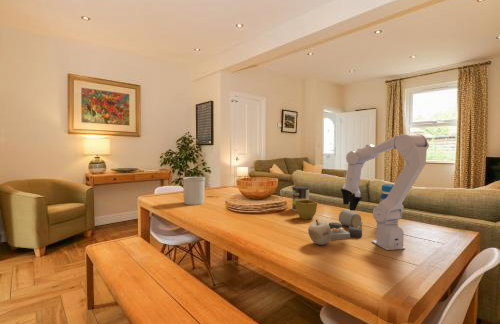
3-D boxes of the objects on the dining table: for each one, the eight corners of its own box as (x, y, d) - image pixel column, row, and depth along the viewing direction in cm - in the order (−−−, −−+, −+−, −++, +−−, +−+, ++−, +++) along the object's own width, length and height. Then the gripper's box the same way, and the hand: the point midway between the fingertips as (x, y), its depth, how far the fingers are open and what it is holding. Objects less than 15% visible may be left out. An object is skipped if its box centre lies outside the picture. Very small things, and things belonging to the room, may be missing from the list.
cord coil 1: (343, 232, 123) (343, 225, 123) (331, 232, 122) (332, 226, 122) (337, 228, 128) (337, 222, 128) (326, 229, 127) (326, 222, 127)
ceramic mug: (351, 229, 126) (352, 213, 125) (338, 225, 133) (338, 209, 133) (366, 227, 131) (367, 211, 131) (353, 222, 138) (353, 207, 138)
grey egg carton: (350, 239, 114) (350, 230, 114) (328, 240, 112) (328, 232, 112) (341, 233, 121) (341, 225, 121) (320, 235, 119) (320, 227, 119)
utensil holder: (198, 200, 197) (198, 176, 196) (209, 203, 186) (209, 177, 185) (179, 202, 188) (179, 177, 187) (189, 206, 176) (189, 179, 176)
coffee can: (298, 212, 160) (298, 188, 159) (288, 208, 169) (289, 186, 168) (312, 210, 164) (313, 187, 163) (302, 207, 173) (302, 185, 172)
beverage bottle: (400, 228, 127) (402, 186, 126) (381, 227, 129) (382, 186, 128) (395, 223, 135) (396, 184, 134) (376, 223, 137) (377, 183, 136)
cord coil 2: (364, 237, 115) (364, 230, 115) (352, 238, 114) (352, 231, 114) (357, 233, 121) (357, 226, 121) (345, 234, 120) (345, 227, 120)
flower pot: (317, 219, 145) (317, 202, 144) (303, 220, 141) (303, 203, 141) (308, 215, 153) (308, 199, 152) (294, 216, 149) (294, 200, 149)
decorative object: (335, 244, 107) (335, 219, 106) (323, 250, 101) (323, 223, 100) (316, 238, 113) (316, 215, 113) (303, 244, 107) (303, 219, 107)
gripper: (338, 173, 127) (334, 201, 130) (350, 181, 113) (346, 212, 116) (353, 174, 128) (349, 202, 130) (367, 182, 114) (362, 213, 116)
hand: (348, 207), depth 123 cm, fingers open, 7 cm apart
